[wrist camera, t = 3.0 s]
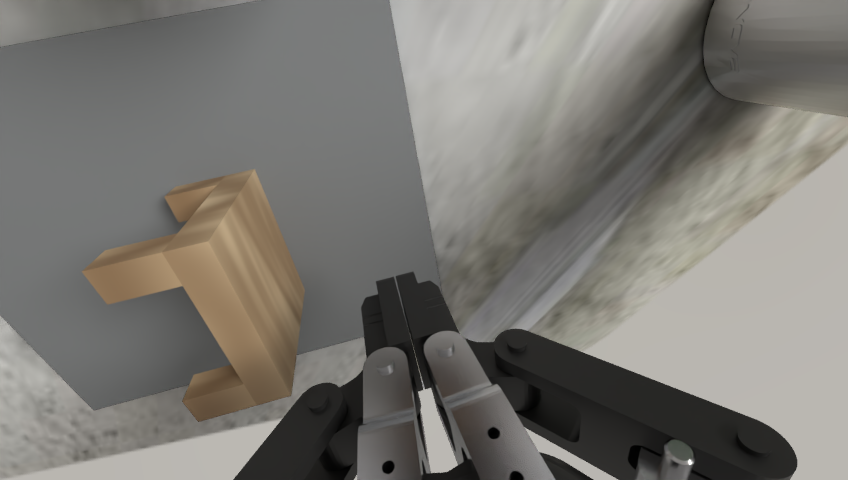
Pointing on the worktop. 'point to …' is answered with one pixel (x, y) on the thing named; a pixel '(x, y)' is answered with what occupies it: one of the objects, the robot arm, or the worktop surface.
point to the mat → (202, 175)
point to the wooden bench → (221, 288)
